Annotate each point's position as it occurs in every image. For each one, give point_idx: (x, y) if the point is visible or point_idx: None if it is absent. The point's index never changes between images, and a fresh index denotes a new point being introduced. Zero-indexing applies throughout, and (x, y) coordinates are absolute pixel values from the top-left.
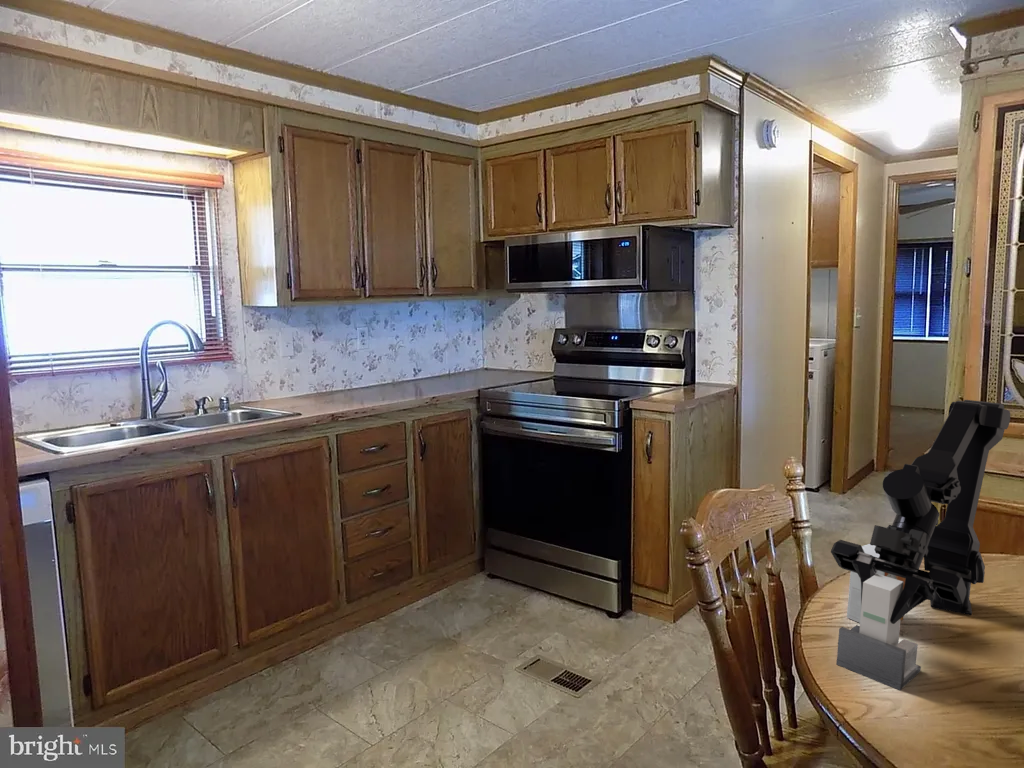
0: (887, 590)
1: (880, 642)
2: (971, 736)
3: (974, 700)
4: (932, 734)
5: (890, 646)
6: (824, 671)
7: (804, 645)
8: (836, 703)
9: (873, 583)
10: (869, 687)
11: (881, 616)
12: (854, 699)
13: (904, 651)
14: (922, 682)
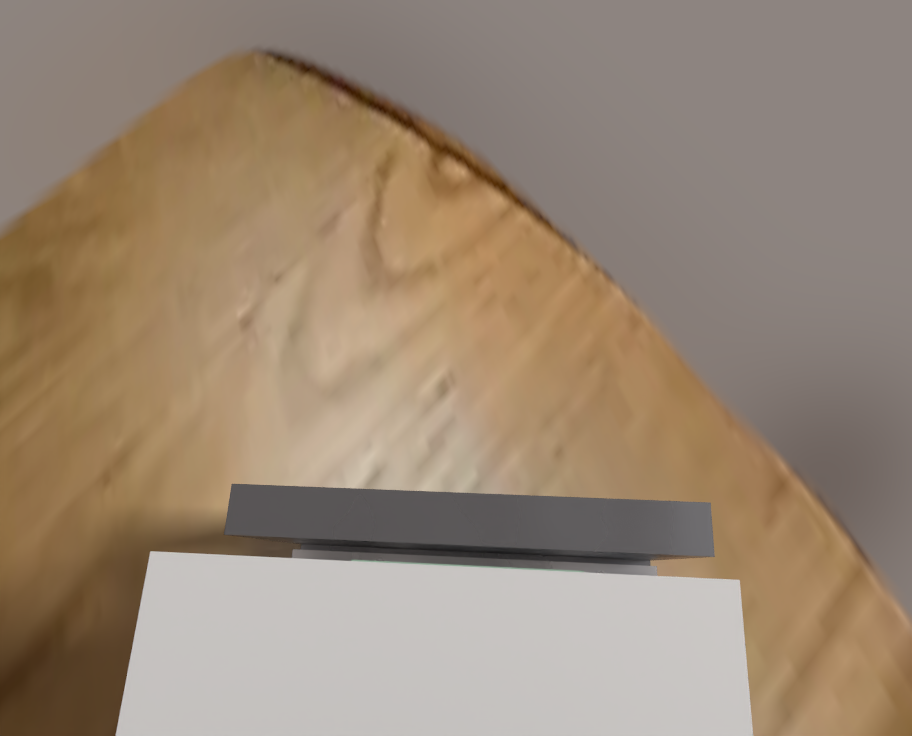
0: (212, 556)
1: (398, 515)
2: (12, 365)
3: (6, 700)
4: (138, 270)
5: (324, 506)
6: (646, 406)
7: (880, 604)
8: (484, 201)
9: (547, 692)
10: (431, 425)
11: (388, 561)
12: (442, 280)
13: (230, 506)
14: None
